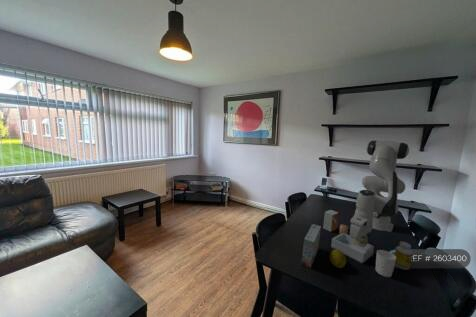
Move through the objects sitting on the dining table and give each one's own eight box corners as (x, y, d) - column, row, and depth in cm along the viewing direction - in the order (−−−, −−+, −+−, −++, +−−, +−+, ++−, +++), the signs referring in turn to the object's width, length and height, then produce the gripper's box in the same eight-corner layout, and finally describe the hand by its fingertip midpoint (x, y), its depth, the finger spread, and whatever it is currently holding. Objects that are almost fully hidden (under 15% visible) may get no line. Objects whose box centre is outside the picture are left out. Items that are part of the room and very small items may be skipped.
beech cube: (357, 240, 114) (358, 232, 114) (366, 244, 110) (367, 236, 110) (353, 243, 112) (354, 235, 111) (362, 247, 108) (364, 239, 107)
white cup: (370, 267, 102) (372, 249, 100) (384, 266, 102) (386, 249, 101) (382, 278, 94) (385, 259, 93) (397, 278, 95) (400, 259, 93)
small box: (330, 232, 137) (332, 214, 135) (322, 228, 142) (324, 211, 140) (337, 229, 141) (339, 212, 140) (329, 225, 147) (330, 209, 145)
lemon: (344, 274, 96) (346, 259, 95) (327, 268, 100) (329, 253, 99) (345, 262, 105) (347, 248, 104) (330, 256, 109) (331, 243, 108)
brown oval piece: (341, 232, 137) (342, 223, 136) (348, 236, 132) (349, 226, 132) (337, 234, 134) (338, 225, 133) (344, 238, 130) (346, 228, 129)
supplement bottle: (405, 271, 99) (409, 248, 98) (390, 263, 105) (394, 241, 104) (412, 268, 102) (416, 246, 100) (397, 260, 108) (401, 239, 106)
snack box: (311, 269, 98) (314, 242, 96) (300, 265, 101) (303, 238, 99) (319, 249, 116) (321, 225, 114) (309, 245, 119) (311, 223, 117)
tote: (331, 247, 119) (332, 238, 118) (342, 240, 126) (343, 232, 126) (362, 263, 104) (363, 254, 104) (372, 255, 112) (373, 246, 111)
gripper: (365, 213, 117) (362, 234, 119) (348, 220, 106) (346, 243, 108) (377, 216, 112) (374, 238, 114) (361, 225, 101) (358, 249, 103)
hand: (360, 241), depth 111 cm, fingers closed on beech cube, 5 cm apart
